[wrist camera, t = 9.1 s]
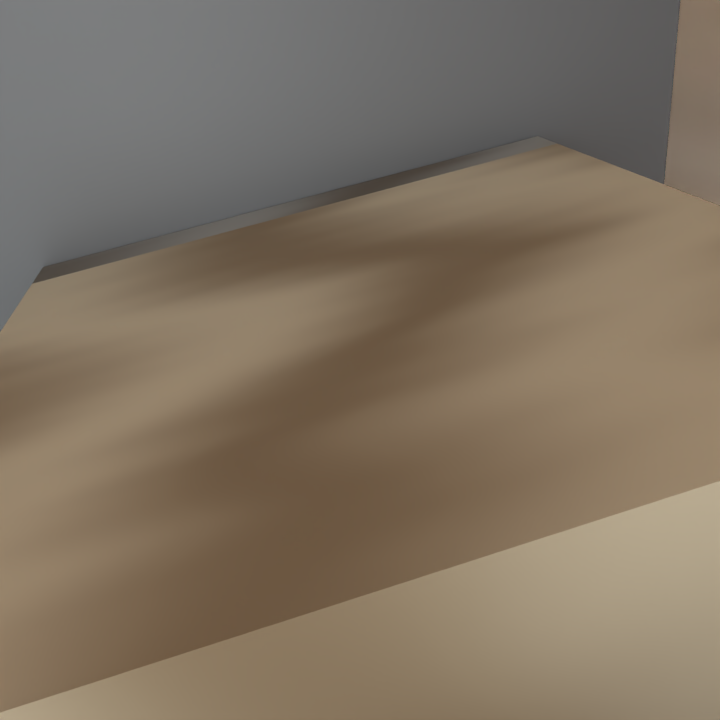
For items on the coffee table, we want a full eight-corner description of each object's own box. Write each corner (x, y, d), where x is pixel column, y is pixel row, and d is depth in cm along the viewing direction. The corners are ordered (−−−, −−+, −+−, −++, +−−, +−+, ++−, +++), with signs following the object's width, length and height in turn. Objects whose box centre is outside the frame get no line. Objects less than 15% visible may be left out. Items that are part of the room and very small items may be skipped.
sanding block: (537, 136, 12) (1110, 355, 4) (550, 531, 18) (789, 897, 11) (42, 267, 11) (-320, 816, 4) (237, 631, 18) (257, 1102, 10)
